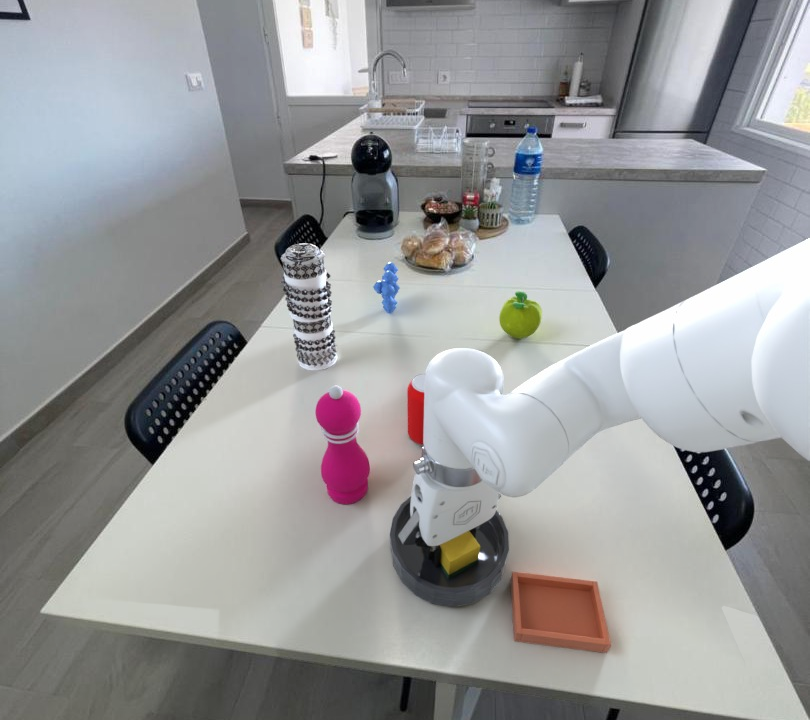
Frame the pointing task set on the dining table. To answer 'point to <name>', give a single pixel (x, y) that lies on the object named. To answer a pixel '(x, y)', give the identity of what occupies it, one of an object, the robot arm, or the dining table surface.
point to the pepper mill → (342, 446)
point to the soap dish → (558, 612)
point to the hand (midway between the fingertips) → (448, 547)
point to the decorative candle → (309, 306)
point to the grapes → (388, 287)
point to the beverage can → (416, 408)
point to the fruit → (520, 316)
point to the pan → (433, 580)
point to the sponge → (459, 554)
